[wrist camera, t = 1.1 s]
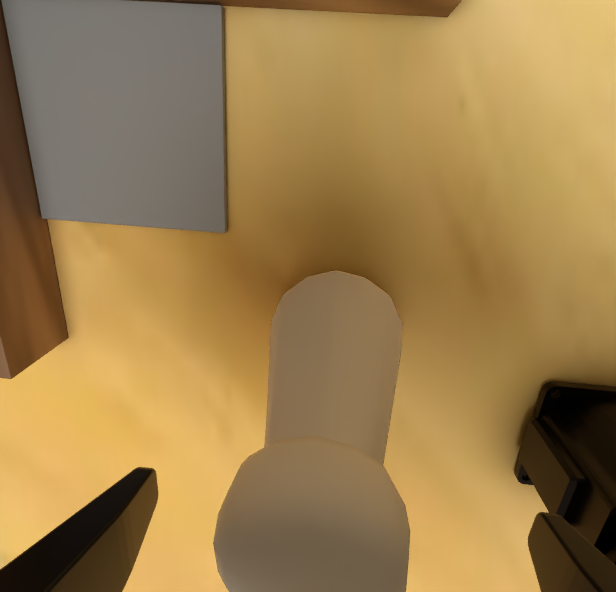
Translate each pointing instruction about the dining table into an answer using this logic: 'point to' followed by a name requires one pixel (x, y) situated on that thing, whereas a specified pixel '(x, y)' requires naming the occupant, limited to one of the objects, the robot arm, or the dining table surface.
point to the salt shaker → (322, 451)
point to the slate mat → (124, 110)
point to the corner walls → (34, 230)
